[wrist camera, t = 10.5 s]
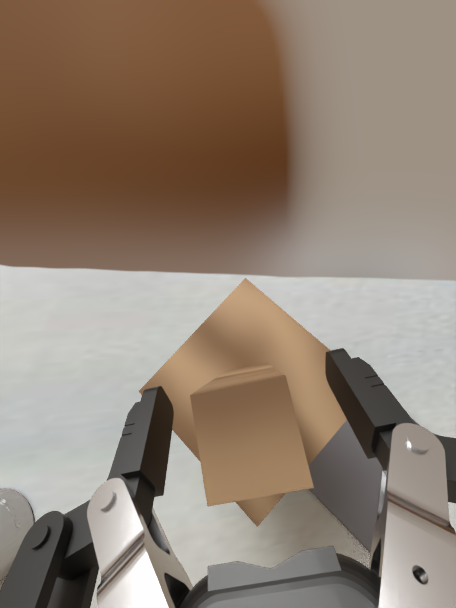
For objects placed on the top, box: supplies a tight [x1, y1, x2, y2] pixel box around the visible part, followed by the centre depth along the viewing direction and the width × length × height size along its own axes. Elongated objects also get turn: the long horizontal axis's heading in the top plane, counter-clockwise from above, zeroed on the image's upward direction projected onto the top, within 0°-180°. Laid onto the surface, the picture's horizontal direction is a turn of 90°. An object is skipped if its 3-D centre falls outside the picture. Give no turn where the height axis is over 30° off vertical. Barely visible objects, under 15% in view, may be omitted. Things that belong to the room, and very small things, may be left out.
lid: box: [139, 278, 347, 526], centre depth 13 cm, size 12×12×11 cm
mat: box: [309, 418, 420, 552], centre depth 27 cm, size 14×13×1 cm
